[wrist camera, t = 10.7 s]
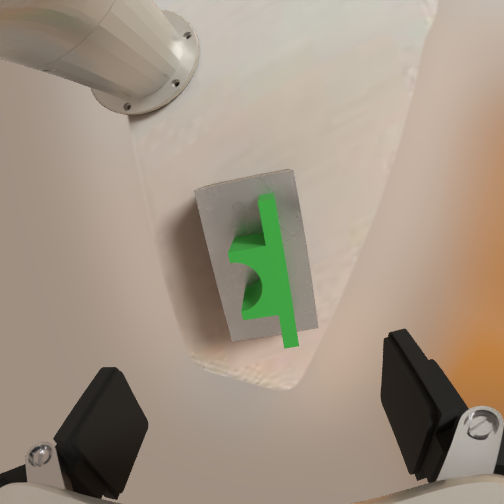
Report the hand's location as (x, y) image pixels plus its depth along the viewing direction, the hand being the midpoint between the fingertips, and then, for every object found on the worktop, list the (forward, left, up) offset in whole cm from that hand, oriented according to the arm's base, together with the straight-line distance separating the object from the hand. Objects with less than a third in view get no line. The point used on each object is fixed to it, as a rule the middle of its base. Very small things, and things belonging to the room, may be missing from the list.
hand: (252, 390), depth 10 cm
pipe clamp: (+1, 0, -17) cm, 17 cm away
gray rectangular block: (0, -1, -22) cm, 22 cm away
